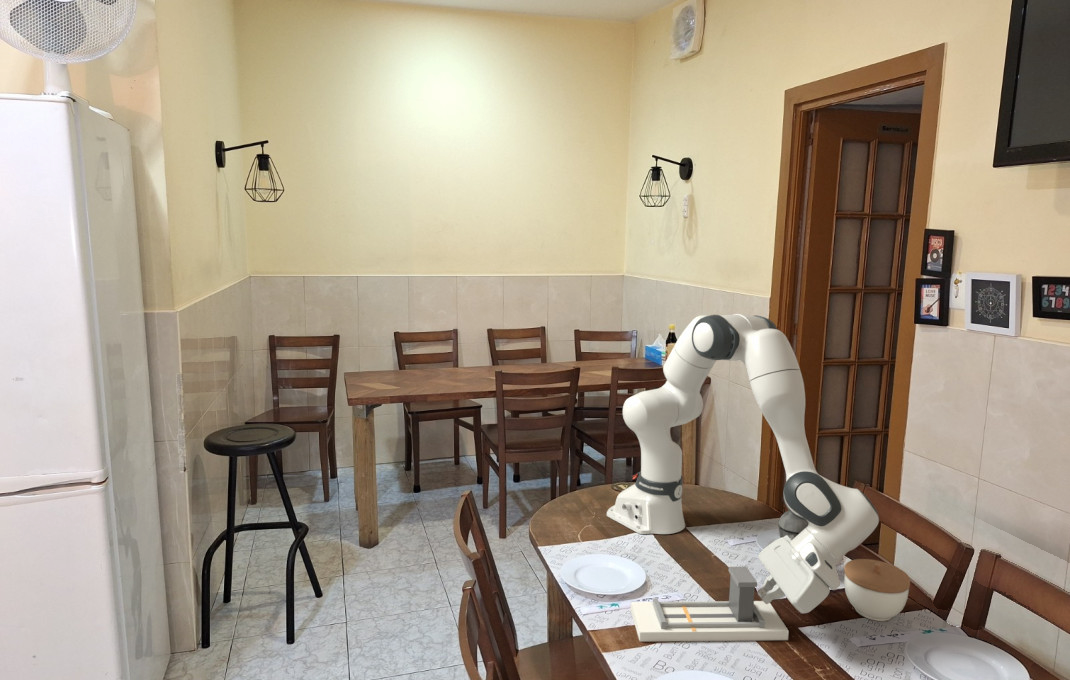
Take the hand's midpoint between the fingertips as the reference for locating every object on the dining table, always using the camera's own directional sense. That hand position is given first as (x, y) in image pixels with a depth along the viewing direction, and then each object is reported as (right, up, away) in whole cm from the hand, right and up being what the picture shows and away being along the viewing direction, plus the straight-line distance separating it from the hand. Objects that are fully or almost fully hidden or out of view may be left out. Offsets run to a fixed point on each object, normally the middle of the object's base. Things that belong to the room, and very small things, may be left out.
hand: (761, 598), depth 139 cm
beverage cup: (+15, -2, +22) cm, 27 cm away
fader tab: (-4, -3, 0) cm, 6 cm away
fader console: (-11, -6, +1) cm, 13 cm away
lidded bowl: (+26, -5, +6) cm, 27 cm away
